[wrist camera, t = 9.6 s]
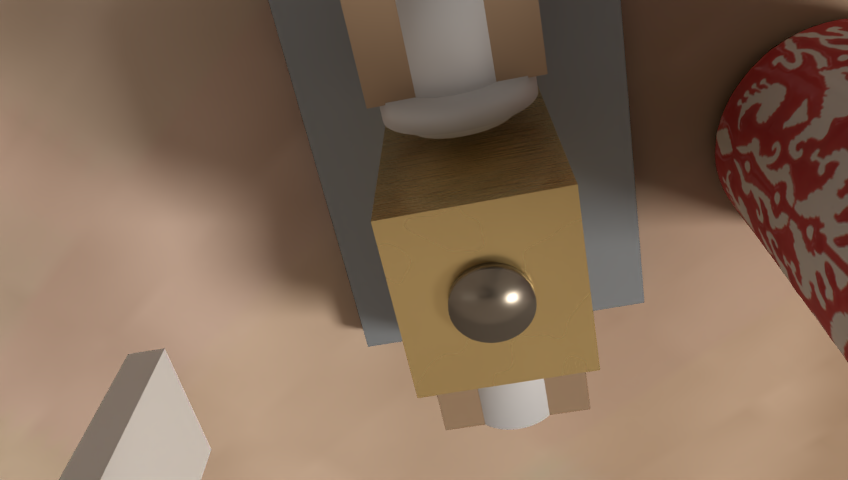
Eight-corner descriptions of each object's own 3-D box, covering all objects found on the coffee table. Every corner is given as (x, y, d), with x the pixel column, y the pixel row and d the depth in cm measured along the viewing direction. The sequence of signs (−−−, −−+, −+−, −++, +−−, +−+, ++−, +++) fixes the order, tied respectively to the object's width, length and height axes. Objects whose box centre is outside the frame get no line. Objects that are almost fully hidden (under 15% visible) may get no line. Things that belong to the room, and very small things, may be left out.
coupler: (388, 103, 24) (369, 227, 17) (533, 75, 23) (580, 190, 16) (421, 243, 26) (417, 406, 19) (553, 220, 26) (602, 377, 18)
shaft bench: (270, -22, 23) (211, 35, 17) (606, -93, 22) (674, -60, 16) (370, 330, 29) (353, 467, 23) (637, 287, 28) (695, 418, 22)
